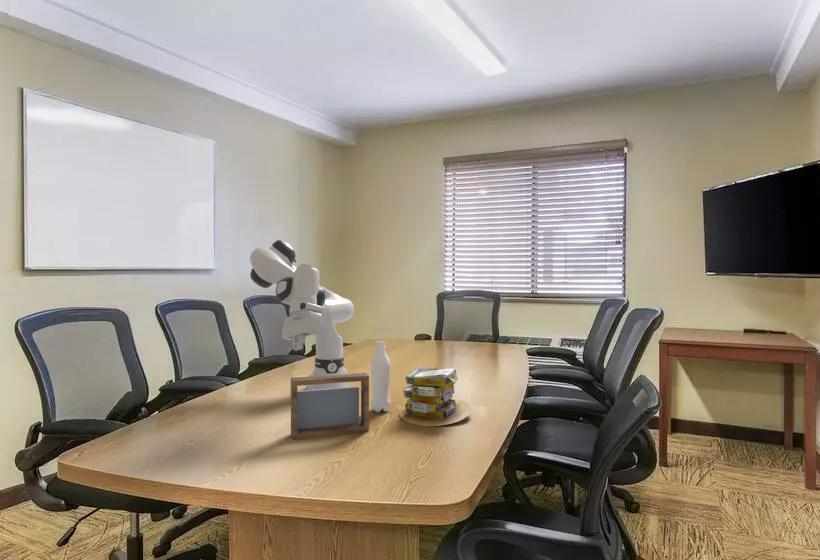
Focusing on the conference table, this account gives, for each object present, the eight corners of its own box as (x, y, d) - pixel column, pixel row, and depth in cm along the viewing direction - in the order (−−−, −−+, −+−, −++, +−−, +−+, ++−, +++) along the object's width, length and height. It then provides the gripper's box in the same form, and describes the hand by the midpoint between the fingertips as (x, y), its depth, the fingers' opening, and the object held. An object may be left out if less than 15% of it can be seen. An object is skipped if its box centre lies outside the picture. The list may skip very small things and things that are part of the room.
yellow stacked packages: (440, 432, 158) (440, 379, 158) (385, 416, 175) (385, 368, 175) (484, 415, 176) (485, 368, 176) (430, 402, 193) (430, 359, 193)
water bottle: (393, 408, 184) (393, 340, 183) (386, 414, 177) (386, 343, 177) (375, 407, 186) (375, 339, 186) (367, 412, 179) (367, 342, 179)
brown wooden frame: (290, 434, 155) (290, 377, 154) (365, 426, 163) (365, 372, 162) (292, 439, 150) (292, 380, 150) (368, 430, 159) (368, 375, 158)
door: (295, 429, 157) (295, 391, 157) (357, 422, 164) (357, 386, 164) (296, 430, 155) (296, 392, 155) (358, 424, 162) (359, 387, 162)
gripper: (280, 312, 178) (274, 351, 174) (309, 302, 163) (304, 344, 159) (296, 316, 182) (291, 354, 177) (326, 306, 167) (321, 348, 162)
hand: (297, 349), depth 168 cm, fingers closed
